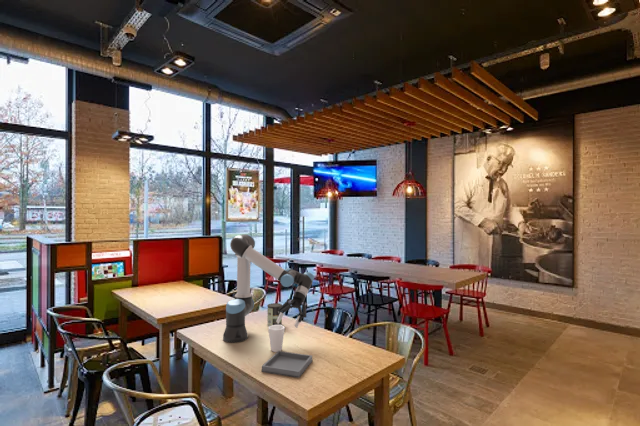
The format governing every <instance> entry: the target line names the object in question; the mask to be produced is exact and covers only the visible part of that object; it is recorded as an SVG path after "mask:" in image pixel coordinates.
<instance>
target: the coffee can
mask: <svg viewBox="0 0 640 426" xmlns="http://www.w3.org/2000/svg"><path fill="white" fill-rule="evenodd" d="M282 305H283V304H282V303H279V302H278V303H276V302H275V303H269V304H268V303H267V305H266V307H267V316H266V317H267V322H266V323H267V324H266V326H267V327H269V326H272V325H282V324H283V322H282V320H283V319H281V321H280V323H279V324H278V323H277V322H276V320H277V318H278V315H279V311H278V309H279V308H280V307H281V306H282Z"/></svg>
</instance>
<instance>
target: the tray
mask: <svg viewBox="0 0 640 426" xmlns="http://www.w3.org/2000/svg"><path fill="white" fill-rule="evenodd" d="M312 362H313V355H311V354H304V353H295V352H291V351H290V352H289V351H283V350H281V351H278V352H275V353H274V354H273V355H272V356H271V357H270V358H269V359H267V361H265V362H264V363H263V364H262V365H261V373H266V374H272V375H279V376H283V377H290V378H297V379H299V378H300V377H301V376H302V375H303V374H304V372H305V371H306V370H307V368H308V367H310V365H311V364H312Z"/></svg>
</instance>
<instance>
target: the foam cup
mask: <svg viewBox="0 0 640 426" xmlns="http://www.w3.org/2000/svg"><path fill="white" fill-rule="evenodd" d="M267 329H268V331H267V332H268V336H269V345H270V351H271V352H275V353H277V352H278V351H283V343H284V335H285V329H286V328H285V326H284V325H272V326H267Z"/></svg>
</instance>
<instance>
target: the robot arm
mask: <svg viewBox="0 0 640 426" xmlns="http://www.w3.org/2000/svg"><path fill="white" fill-rule="evenodd" d="M229 245H230V249H231V251H232V252H233V253H234V256H236V258H237V260H236V261H237V264H236V267H237V269H236V270H237V271H236V293H235V294H234V299H230V300H229V301H227V302H226V306H225V329H224V332H223V335H222V339H223V340H222V341H224V342H226V343H231V344H232V343H240V342H244V341H247V339H248V338H249V336H248V330H247V327H246V317H247V315H249V314H251V312H252V311H253V310H254V307H255V301H254V298H253V294H252V293H251V263H252V264H253V265H255V266H257V267H258V268H260V269H261V270H263V271H264V272H265V273H267V274H268V275H269V276H272V277H273V278H274V279H275V280H277V281H279V282H280V284H281V286H283V287H285V288H286V287H287V288H289V287H291V286H292V285H293V284H296V285H298V286H297V287H296V290H295V292H294V293H293V295H292V299H290V298H287V300H286V301H285V302H284V303H283V304H282V306H281V307H280V308H279V309H278V311H279V315H278V318H277V320H276V322H277V323H278V324H279V323H280V321H281V319H282V318H283V316H284V313H286V312H287V311H289V310H290V309H292V308H293V309H298V313H299V315H298V316H297V318H296V321H295V323H294V324H293V325H294V327H295V328H298V327H299V325H300V323H301V322H302V321H303V319H304V318H307V306H308V303H307V301H305V300H306V297H307V295H308V293H309V291H310V289H311V287H312V284H313V282H314V280H315V276H314V274H313V273H311V272H310V271H309V272H308V271H305V272H304V273H301V272H299V271H297V270H295V269H293V268H289V267H286V269H284V268H283V267H281V266H280V265H278V264H277V263H275V262H274V261H272V260H271V259H270V258H268V257H266V256H265V255H263V254H262V253H260V252H259V251H257V250H256V249H254V248H255V247H256V240H255V239H254V237H253V236H252V235H250V234H240V235H236V236H234V237H233V238H232V239H231V241H230V243H229ZM301 306H302V307H301ZM282 320H283V319H282Z"/></svg>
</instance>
